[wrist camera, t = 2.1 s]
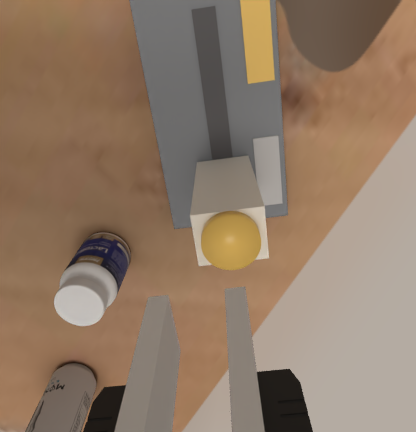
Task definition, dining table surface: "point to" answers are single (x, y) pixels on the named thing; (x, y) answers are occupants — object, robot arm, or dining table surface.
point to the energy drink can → (64, 400)
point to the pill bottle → (92, 279)
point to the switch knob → (228, 214)
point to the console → (213, 92)
